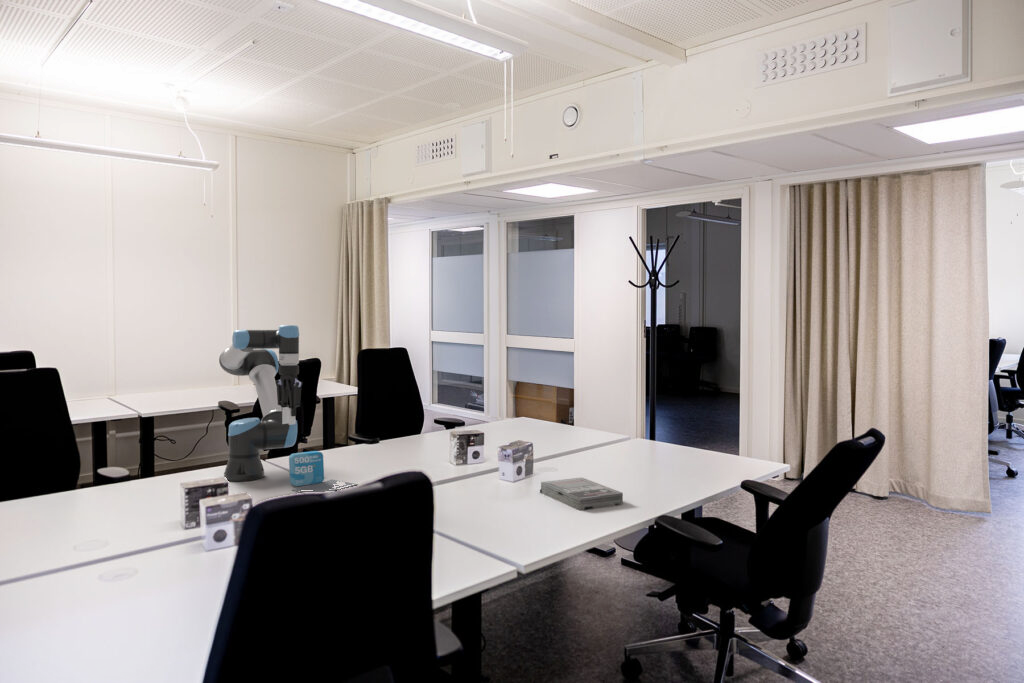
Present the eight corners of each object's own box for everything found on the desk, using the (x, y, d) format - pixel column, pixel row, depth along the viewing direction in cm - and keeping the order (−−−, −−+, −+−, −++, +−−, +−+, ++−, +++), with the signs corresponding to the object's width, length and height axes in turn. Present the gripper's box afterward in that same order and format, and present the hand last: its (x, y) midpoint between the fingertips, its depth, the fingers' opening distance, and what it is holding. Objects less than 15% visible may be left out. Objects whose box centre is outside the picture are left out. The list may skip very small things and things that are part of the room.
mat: (291, 490, 255) (291, 489, 255) (332, 480, 272) (332, 479, 272) (317, 496, 247) (317, 495, 247) (357, 485, 264) (357, 484, 264)
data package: (293, 487, 260) (292, 455, 260) (289, 485, 263) (288, 453, 263) (324, 482, 266) (323, 451, 266) (320, 480, 270) (319, 450, 270)
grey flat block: (581, 488, 264) (581, 477, 264) (623, 505, 240) (623, 493, 240) (539, 493, 255) (540, 481, 255) (579, 511, 231) (579, 498, 231)
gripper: (267, 364, 270) (267, 423, 271) (295, 365, 262) (295, 427, 262) (283, 363, 277) (283, 421, 277) (310, 364, 268) (310, 424, 269)
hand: (288, 423), depth 270 cm, fingers open, 3 cm apart
